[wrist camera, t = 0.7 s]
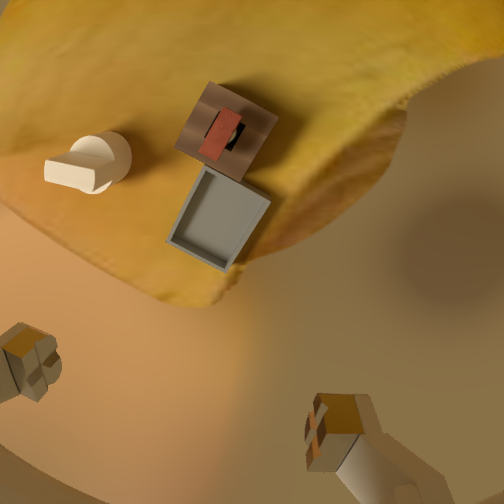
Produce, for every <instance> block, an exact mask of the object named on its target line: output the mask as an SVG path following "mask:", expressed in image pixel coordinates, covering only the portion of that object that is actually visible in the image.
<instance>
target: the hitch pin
mask: <svg viewBox="0 0 504 504" xmlns="http://www.w3.org/2000/svg"><path fill="white" fill-rule="evenodd" d="M242 118H243V116H242V115H241V114H239V113H237V112H235V111H233V110H231V109H229V108H227V107H223V108H222V110H221V112H220V113H219V115H218V117H217V119H216V120H215V122H214V124H213V126H212V127H211V129H210V131H209V133H208V135H207V137H206V138H205V140H204V142H203V144H202V146H201V148H200V149H199V151H198V152H199V153H201V154H203V155H205V156H207V157H209V158H211V159H213V160H214V161H217V160H218V159H219V158H220V156H221V154H222V153H223V151H224V149H225V147H226V145H227V144H228V143H229V142H231V141H232V140H233V139H234V138H235V137H236V136H237V135H238V134H239V132H240V125H239V123H240V121H241V120H242Z"/></svg>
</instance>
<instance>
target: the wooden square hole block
mask: <svg viewBox="0 0 504 504" xmlns="http://www.w3.org/2000/svg"><path fill="white" fill-rule="evenodd" d="M223 107H227V108H229V109H231V110H233V111H235V112H237V113H239V114H241V115H242V116H243V118H242V120H241V121H240V122H241V123H243V124H244V125H246V127H245V128H244V130H243V132H242V134H241V135H240V137H239V139H238V140H237V142H236V144H235V146H234V145H232V144H230V143H228V144H227V145H226V147H225V149H224V151H223V153H222V154H221V156H220V158H219V159H218V160H217V161H214V160H213V159H211V158H209V157H207V156H205V155H203V154H201V153H199V152H198V151H199V149H200V148H201V146H202V144H203V142H204V140H205V138H206V137H207V135H208V133H209V131H210V129H211V127H212V126H213V124H214V122H215V120H216V119H217V117H218V115H219V113H220V112H221V110H222V108H223ZM278 119H279V117H277V116H276V115H274V114H272V113H270V112H269V111H267V110H265V109H263V108H262V107H260V106H258V105H256V104H254V103H252V102H251V101H249V100H247V99H245V98H243V97H241V96H239V95H237V94H235V93H233V92H232V91H230V90H228V89H226V88H224V87H222V86H220V85H217V84H215V83H213V82H211V81H209V83H208V84H207V86H206V88H205V90H204V91H203V93H202V95H201V97H200V98H199V100H198V102H197V104H196V106H195V107H194V109H193V111H192V113H191V115H190V117H189V119H188V120H187V122H186V124H185V126H184V128H183V130H182V132H181V134H180V136H179V138H178V140H177V142H176V144H175V146H174V148H176V149H178V150H180V151H182V152H184V153H186V154H188V155H190V156H192V157H193V158H195V159H197V160H199V161H201V162H203V163H205V164H207V165H209V166H211V167H212V168H214V169H216V170H218V171H220V172H222V173H224V174H225V175H227V176H229V177H231V178H233V179H235V180H236V181H238V182H240V181H241V179H242V178H243V176H244V174H245V173H246V171H247V169H248V168H249V166H250V164H251V163H252V161H253V159H254V158H255V156H256V154H257V153H258V151H259V149H260V148H261V146H262V144H263V143H264V141H265V139H266V138H267V136H268V135H269V133H270V131H271V130H272V128H273V127H274V125H275V123H276V122H277V120H278Z"/></svg>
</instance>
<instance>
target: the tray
mask: <svg viewBox="0 0 504 504" xmlns="http://www.w3.org/2000/svg"><path fill="white" fill-rule="evenodd" d="M270 203H271V196H270V195H268V194H266V193H265V192H263V191H261V190H259V189H258V188H256V187H254V186H252V185H251V184H249V183H247V182H245V181H243V180H242V179H241V181H240V182H238V181H236V180H235V179H233V178H231V177H229V176H227V175H225V174H224V173H222V172H220V171H218V170H216V169H214V168H212V167H211V166H209V165H207V164H204V166H203V168H202V170H201V171H200V173H199V175H198V177H197V179H196V181H195V183H194V185H193V187H192V189H191V191H190V193H189V195H188V197H187V199H186V201H185V203H184V205H183V207H182V209H181V211H180V213H179V215H178V217H177V219H176V221H175V223H174V225H173V227H172V229H171V231H170V234H169V236H168V238H167V240H166V242H167V243H168V244H170V245H172V246H174V247H176V248H178V249H180V250H182V251H184V252H185V253H187V254H189V255H191V256H193V257H195V258H197V259H199V260H201V261H203V262H205V263H207V264H209V265H210V266H212V267H214V268H216V269H218V270H220V271H222V272H224V273H227V271H228V269H229V268H230V266H231V265H232V263H233V262H234V260H235V258H236V257H237V255H238V254H239V252H240V250H241V249H242V247H243V246H244V244H245V243H246V241H247V239H248V238H249V236H250V235H251V233H252V231H253V230H254V228H255V227H256V225H257V224H258V222H259V220H260V219H261V217H262V216H263V214H264V213H265V211H266V209H267V208H268V206H269V205H270Z"/></svg>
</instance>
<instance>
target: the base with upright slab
mask: <svg viewBox="0 0 504 504" xmlns="http://www.w3.org/2000/svg"><path fill="white" fill-rule="evenodd" d="M131 163H132V153H131V148H130V146H129V144H128V142H127V141H126V139H125V138H124V137H123V136H121V135H120V134H119V133H116V132H113V131H105V132H101V133H97V134H93V135H89V136H86V137H82V138H80V139H79V140H78V141H76V142H75V144H74V145H73V146H72V147H71V150H70V152H67V153H64V154H61V155H58V156H55V157H53V158H50V159H47V160H46V162H45V167H44V178H45V181H49V182H53V183H57V184H61V185H65V186H69V187H73V188H77V189H80V190H81V191H83V192H85V193H87V194H97V193H100V192H102V191H104V190H105V189H107V188H109V187H110V186H112V185H114V184H115V183H117V182H119V181H120V180H122V179H123V178H124V177H125V176H126V175H127V173H128V172H129V170H130V167H131Z"/></svg>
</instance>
